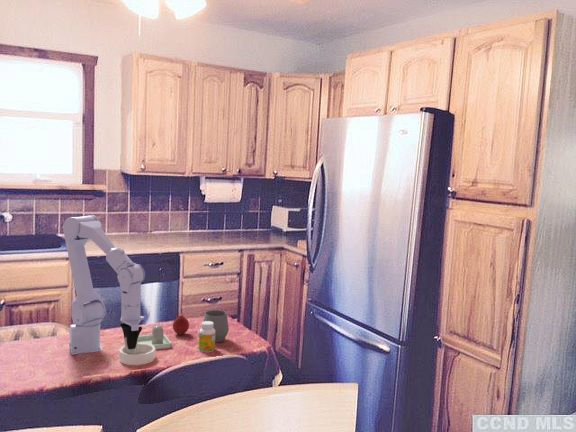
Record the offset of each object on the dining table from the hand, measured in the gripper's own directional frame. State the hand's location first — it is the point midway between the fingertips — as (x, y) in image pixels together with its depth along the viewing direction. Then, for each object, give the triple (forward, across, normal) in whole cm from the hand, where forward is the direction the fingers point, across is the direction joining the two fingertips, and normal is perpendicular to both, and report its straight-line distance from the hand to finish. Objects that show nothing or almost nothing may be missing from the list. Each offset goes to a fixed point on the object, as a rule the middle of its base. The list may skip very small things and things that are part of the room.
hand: (130, 346), depth 170 cm
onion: (+5, +18, -21) cm, 29 cm away
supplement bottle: (+5, 0, -25) cm, 26 cm away
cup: (+5, +10, -31) cm, 33 cm away
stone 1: (+2, 0, 0) cm, 2 cm away
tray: (+5, +12, -8) cm, 15 cm away
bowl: (+5, 0, -2) cm, 5 cm away
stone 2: (+4, +12, -11) cm, 17 cm away
